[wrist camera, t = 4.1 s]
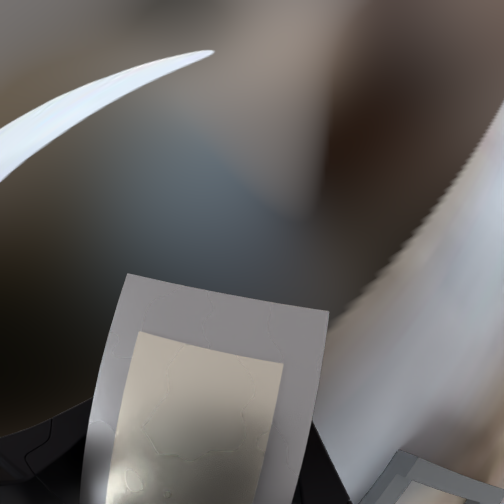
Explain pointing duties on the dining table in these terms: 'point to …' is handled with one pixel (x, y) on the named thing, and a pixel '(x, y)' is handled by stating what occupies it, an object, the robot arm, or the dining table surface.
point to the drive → (201, 398)
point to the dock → (428, 482)
